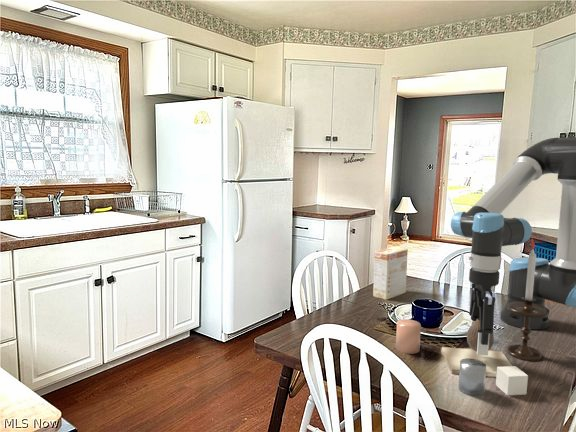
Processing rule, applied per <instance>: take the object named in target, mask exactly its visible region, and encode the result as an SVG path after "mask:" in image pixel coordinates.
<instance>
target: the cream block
mask: <svg viewBox="0 0 576 432" xmlns="http://www.w3.org/2000/svg"><path fill="white" fill-rule="evenodd" d="M495 379H496V380H495V386H497V388H498V389H500V390H501V391H502V392H503V393H504V394H505V395H506V396H520V395H521V396H522V395H525V396H526V395H527V393H528V392H527V391H528V380H529V375H528V374H527V373H525V372H524V371H523V370H521V368H519V367H518V366H516V365H512V366H505V367H497V375H496V377H495Z"/></svg>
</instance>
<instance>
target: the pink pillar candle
mask: <svg viewBox="0 0 576 432" xmlns="http://www.w3.org/2000/svg"><path fill="white" fill-rule="evenodd" d="M421 328H422V325H421V323H420V322H419V321H417V320H413V319H410V318H409V319H406V318H402V319H399V320H397V321H396V333H395V349H396V350H397V351H398V352H400V353H403V354H409V355H414V354H417V353H419V352H420V348H421V347H420V346H421V330H422V329H421Z"/></svg>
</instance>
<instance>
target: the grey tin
mask: <svg viewBox="0 0 576 432" xmlns="http://www.w3.org/2000/svg"><path fill="white" fill-rule="evenodd" d="M486 377H487V376H486V364H485V363H483V362H482V361H479V360H476V359H471V358H465V359H462V360H461V361H460V372H459V374H458V387H457V388H458V390H459V391H460V392H461V393H462V394H464V395H465V396H469V397H478V398H479V397H482V396H484V395H485V391H486V390H485V388H486Z"/></svg>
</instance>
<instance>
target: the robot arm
mask: <svg viewBox="0 0 576 432" xmlns="http://www.w3.org/2000/svg"><path fill="white" fill-rule="evenodd" d="M547 174H556V175H557V181H558V182H560V184H561V186H562V187H561V196H560V199H561V200H560V207H559V209H560V210H559V218H558V219H559V220H558V230H557V239H556V243H557V244H556V249H555V250H556V252H555V258H553V259H551V261H549V260H548V259H547V258H543V257H542V258H541V257H536V263H535V275H534V286H533V298H534V299H536V301H533V302H532V303H534V304H538V305H541V306H544V307H546V304H545V302H546V301H550V302H554V303H556V304H557V303H558V304H561V305H564V306H566V307H570V308H571V307H572V308H576V136H575V137H574V136H572V137H551V138H547V139H544V140H540V141H538V142H536V143H535V144H533V145H531V146H530V147H528V148H526V149H525V150H523V151H522V152H521V153H520V154H519V155H518V156H517V157H516V158H515V159H514V161H513V162H512V167H510V169H508V170H507V172H506V173H505V174H503V175H502V177H500V178H499V179H498V180H497V182H495V184H493V185H492V186H491V188H490V189H489V190H488V191H486V192H485V194H484V195H482V197H481V198H479V200H477V201H476V203H475V204H474V205H473V206H471V208H470V209H469V210H467V211H458V212H455V213H454V214H453V215H452V217H451V220H450V229H451V232H452V233H454V235H458V236H460V237H463V238H468V239H469V238H470V239H471V249H470V256H468V260H469V262H470V268H469V273H468V274H469V275H468V280H469V282H470V283H471V294H470V304H469V316H470V326H471V325H472V324H473V323H475V321H476V320H477V319H478V318H480V330H477V332H478V344H477V355H488V349H489V336H490V334H493V335H494V319H495V318H494V317H495V305H496V297H495V296H493V291H492V288H493V287H496V286H498V285H499V284H500V274H501V273H500V269H501V262H502V247H507V246H518V245H520V244H523V243H527V242H528V241H529V240H530V238H531V237H532V234H533V230H532V226H531V224H530V223H529V222H528V220H526V219H524V218H521V217H511V218H510V217H504V215H503V214H502V213H503V212H504V211H505V210H506V208H508V206H509V205H510V204H511V203H512V202H513V201H514V200H516V198H517V197H518V196H519V195H520V194H521V193H523V191H524V190H525V189H526V188H527V187H528V186H529V184H531V183H532V181H537V180H539V178H541V177H542V176H544V175H547ZM528 259H529V257H519V258H514V259H512V260H511V261H510V266H509V271H508V273H509V274H508V287H507V298H506V300H505V302H504V304H503V306H502V308H501V310H500V317H499V318H500V319H501V321H503V322H504V323H506V324H507V325H511V326H513V327H516V328H520V329H521V328H522V327H524V318H525V316H521V315H518V314H515V313H512V312H510V311H509V310H508V309H507V304H508V303H510V302H524V301H525V300H523V299H521V297H525V294H526V282H527V271H528ZM545 300H546V301H545ZM549 321H550V319H549V316H547V317H543V318H533V317H530V320H529V328H530V329H531V330H544V329H547V328H548V327H549Z"/></svg>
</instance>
